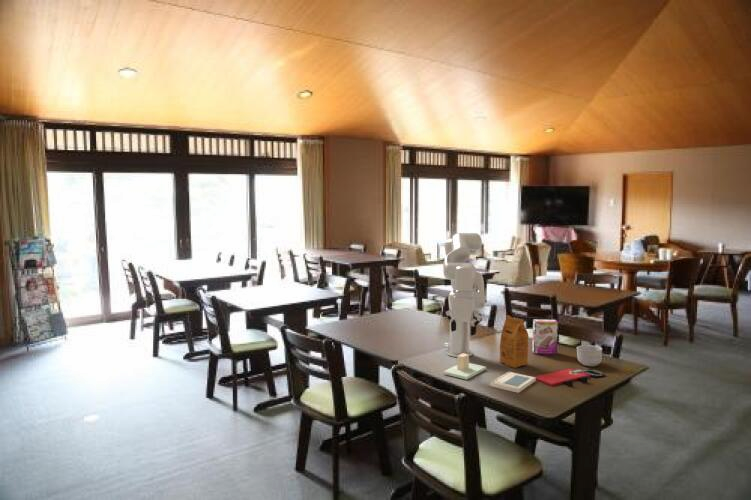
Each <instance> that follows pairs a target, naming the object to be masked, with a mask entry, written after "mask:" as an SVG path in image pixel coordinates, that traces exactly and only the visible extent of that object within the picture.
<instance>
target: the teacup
mask: <svg viewBox="0 0 751 500" xmlns="http://www.w3.org/2000/svg"><path fill="white" fill-rule="evenodd" d="M576 355H577V357H576V358H577V361H578V362H579V364H581V365H583V366H586V367H597V366H599V364H601V363H602V359H603V348H602V347H601V346H600V345H591V344H583V345H579V346H576Z"/></svg>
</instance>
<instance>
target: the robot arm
mask: <svg viewBox="0 0 751 500" xmlns="http://www.w3.org/2000/svg"><path fill="white" fill-rule="evenodd" d="M482 246H483V241H482V237H481V236H480V234H478V233H477V232H458V233H455V234H454V235H453V236H452V237H451V238H450V239H447V240H446V241H445V243H444V250H445V251H444V252H445V256H444V259H443V264H442V265H443V266H442V267H443V271H442V272H443V276H444V278H445V279H446V280H449V281H450V285H451V288H452V291H450V292H449V293H448V297H447V298H448V309H449V310H447V311H445V315H446V317H447V319H448V320H449V342H444V343H443V348H446V349H447V350H446V355H448V356H450V357H453V358H457V356H458V355H460V354H462V353H464V354H469V357H471V356H473V354H474V353H473V351H472V349H471V350H470V341H471V339H470V336H474V335H476V334H477V326H478V325H479V324H480V323H481V321H482V319H483V316H482V315H480V314H479V313H477V312H476V311H481V310H483V309H484V308H485V307H486V295H485V294H486V293H485V283H484V282H485V281H484V277H483V274H482V273H481V272H479V271H477V268H476V266H475V265H474V264H473V263H470V262H467V261H468V260H469V259H470V258H471V256H476V255H478V254H479V253H480V251H481V249H482Z"/></svg>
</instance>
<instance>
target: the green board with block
mask: <svg viewBox="0 0 751 500" xmlns="http://www.w3.org/2000/svg"><path fill="white" fill-rule="evenodd" d="M456 360H457V361H456V363H457V364H456V365H453V366H451V367H449V368H447V369H445V370H443V375H446V376H450V377H455V378H459V379H462V380H468V379H471V378H473V377H474V376H476V375H478V374H480V373H482V372H484V371H486V369H487V366H486V365H485V366H484V365H481V364H476V363H471V362H470V356H469V354H464V353H462V354H460V355H458V356H457V357H456Z"/></svg>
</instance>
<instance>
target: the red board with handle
mask: <svg viewBox="0 0 751 500" xmlns="http://www.w3.org/2000/svg"><path fill="white" fill-rule="evenodd" d="M591 376H592V377H595V378H596V377H600V376H606V373H603V372H601V371H597V370H595V369H592V368H589V369H584V370H582V369H573V368H570V367H568V368H564V369H560V370H559V369H558V370H555V371H551V372H547V373H542V374H538V375H533V376H532V377H535V378H536V382H539V383H542V384H544V385H546V386H549V387H555V386H559V385H567V387H568V388H571V387H573V384H574V382H577V381H582V384H588V379H589V378H591Z"/></svg>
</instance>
